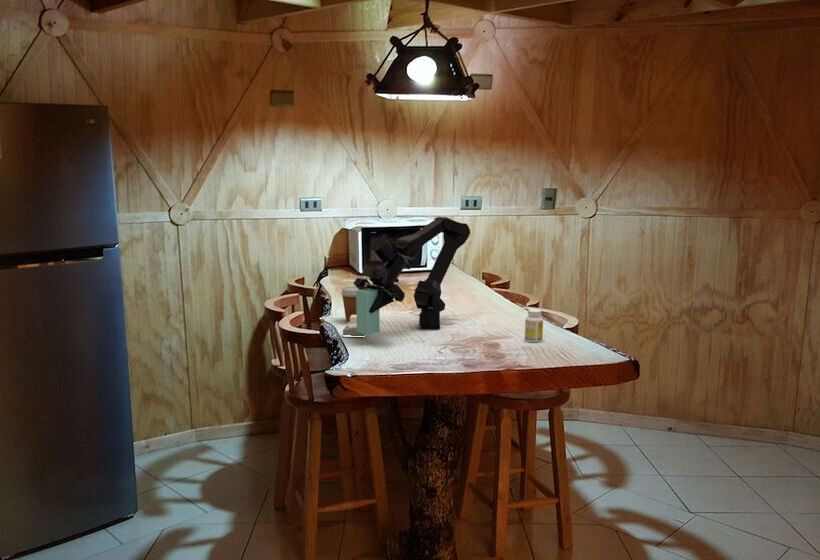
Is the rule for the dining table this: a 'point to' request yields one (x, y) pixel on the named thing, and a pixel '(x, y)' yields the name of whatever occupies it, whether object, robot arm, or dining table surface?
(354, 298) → the disposable coffee cup
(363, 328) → the column
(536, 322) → the supplement bottle
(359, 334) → the base plate
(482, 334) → the dining table surface
